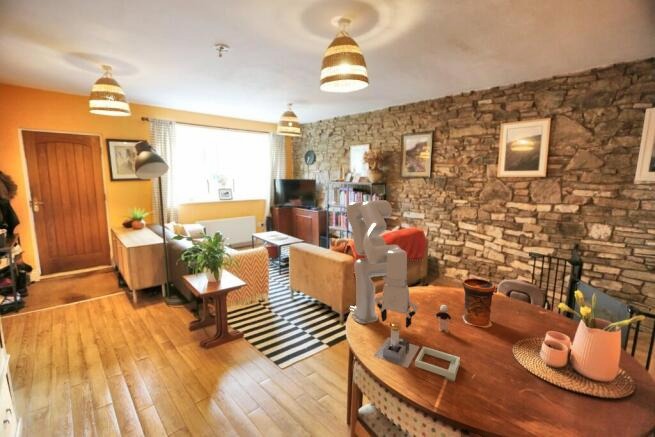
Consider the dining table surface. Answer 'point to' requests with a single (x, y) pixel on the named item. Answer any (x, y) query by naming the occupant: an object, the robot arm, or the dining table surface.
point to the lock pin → (395, 336)
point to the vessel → (478, 302)
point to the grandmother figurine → (443, 319)
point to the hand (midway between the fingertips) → (395, 323)
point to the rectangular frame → (448, 374)
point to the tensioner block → (402, 356)
